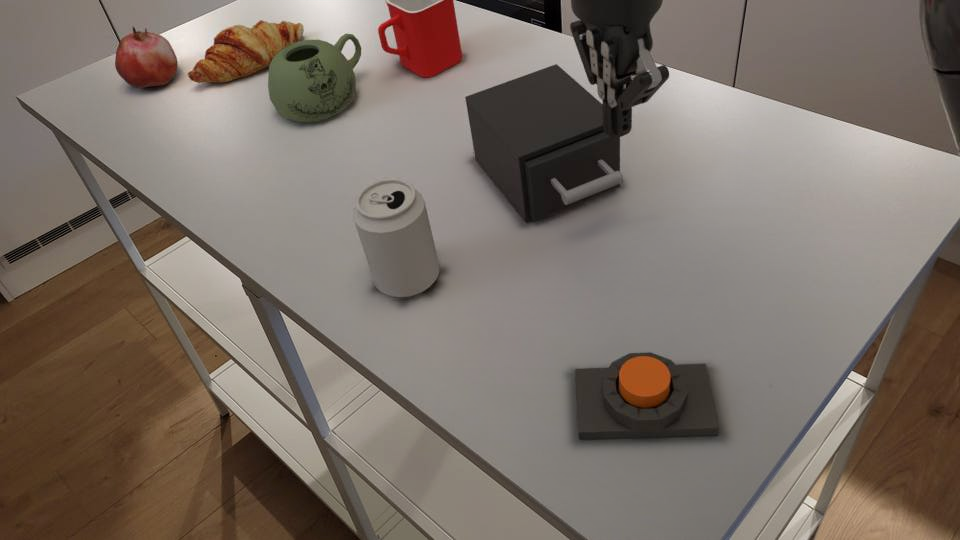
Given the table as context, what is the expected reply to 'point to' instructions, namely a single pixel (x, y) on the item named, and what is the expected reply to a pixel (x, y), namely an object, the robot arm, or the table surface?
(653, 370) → the button
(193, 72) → the croissant
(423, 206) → the can
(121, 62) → the fruit
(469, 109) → the black drawer cabinet
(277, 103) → the mug
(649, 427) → the control block
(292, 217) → the table surface
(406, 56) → the mug
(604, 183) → the small dark drawer
